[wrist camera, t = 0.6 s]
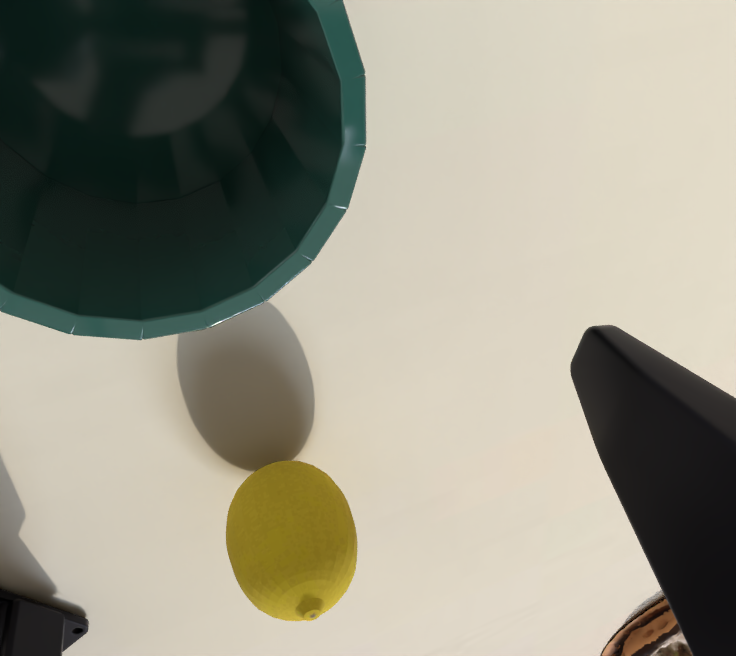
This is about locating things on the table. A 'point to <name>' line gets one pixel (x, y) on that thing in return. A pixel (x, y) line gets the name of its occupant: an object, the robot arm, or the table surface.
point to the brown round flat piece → (650, 635)
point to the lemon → (291, 540)
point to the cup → (170, 156)
